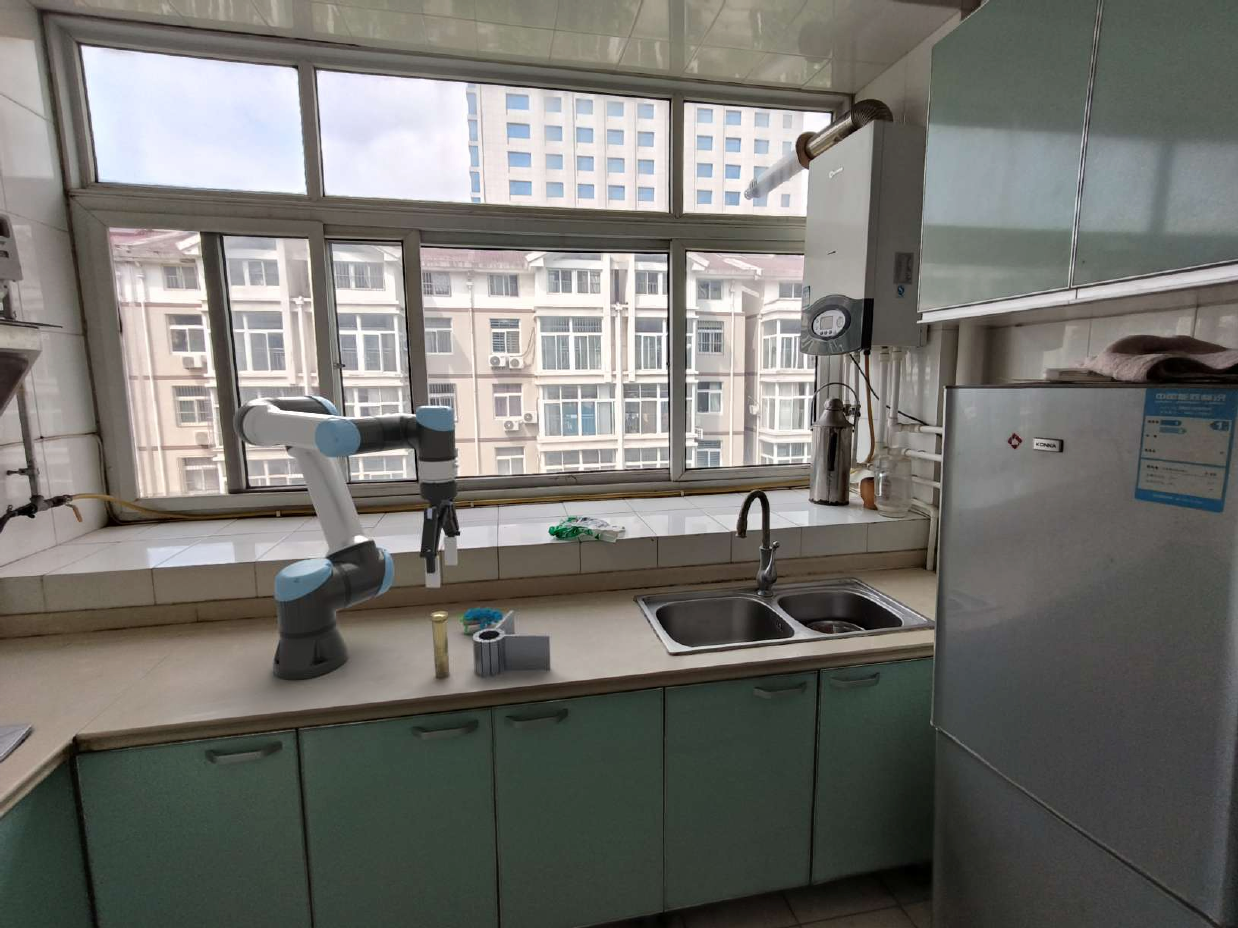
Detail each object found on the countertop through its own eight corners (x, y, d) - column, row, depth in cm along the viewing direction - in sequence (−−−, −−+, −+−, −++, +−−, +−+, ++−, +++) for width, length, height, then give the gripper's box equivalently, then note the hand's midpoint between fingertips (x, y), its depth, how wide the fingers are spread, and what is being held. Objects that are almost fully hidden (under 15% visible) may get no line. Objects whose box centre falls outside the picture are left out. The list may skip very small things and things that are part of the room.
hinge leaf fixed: (471, 676, 126) (469, 642, 125) (479, 660, 133) (477, 628, 132) (548, 676, 126) (547, 642, 125) (552, 661, 133) (551, 628, 132)
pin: (430, 679, 125) (427, 618, 123) (436, 670, 129) (433, 611, 127) (448, 679, 125) (444, 618, 123) (453, 670, 129) (450, 611, 127)
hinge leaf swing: (499, 660, 133) (497, 627, 132) (495, 660, 134) (494, 627, 132) (514, 640, 143) (513, 610, 142) (511, 640, 143) (510, 610, 142)
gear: (508, 617, 153) (496, 602, 145) (507, 638, 150) (495, 625, 142) (468, 622, 154) (454, 607, 146) (466, 643, 151) (452, 630, 143)
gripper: (438, 491, 109) (443, 597, 113) (470, 469, 134) (473, 556, 137) (399, 491, 109) (405, 597, 113) (438, 469, 134) (442, 556, 137)
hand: (442, 575), depth 125 cm, fingers open, 13 cm apart
